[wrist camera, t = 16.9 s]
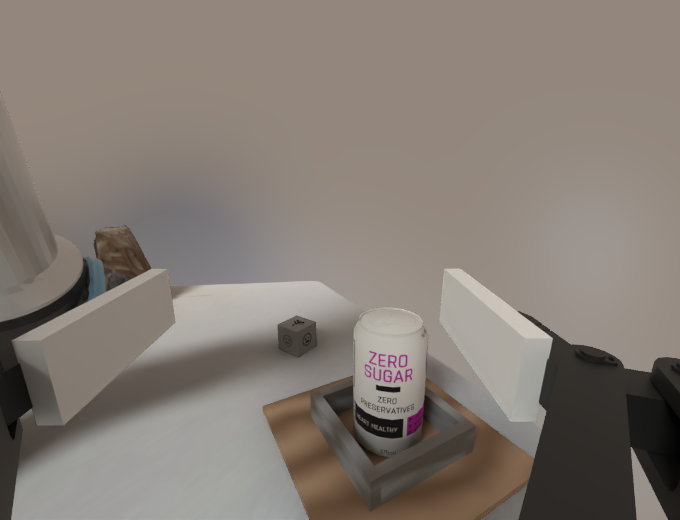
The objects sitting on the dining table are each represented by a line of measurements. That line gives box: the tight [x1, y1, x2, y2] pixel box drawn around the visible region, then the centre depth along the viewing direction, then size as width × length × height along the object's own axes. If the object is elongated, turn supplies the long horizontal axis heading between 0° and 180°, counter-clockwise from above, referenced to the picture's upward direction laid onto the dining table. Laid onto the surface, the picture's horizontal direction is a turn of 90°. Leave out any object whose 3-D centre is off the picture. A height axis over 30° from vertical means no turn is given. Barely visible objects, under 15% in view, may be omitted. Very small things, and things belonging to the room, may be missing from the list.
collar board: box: [263, 376, 534, 520], centre depth 38 cm, size 24×24×5 cm
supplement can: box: [353, 307, 428, 458], centre depth 37 cm, size 8×8×15 cm
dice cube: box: [278, 316, 317, 357], centre depth 59 cm, size 5×5×5 cm
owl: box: [94, 225, 151, 292], centre depth 79 cm, size 13×13×20 cm
